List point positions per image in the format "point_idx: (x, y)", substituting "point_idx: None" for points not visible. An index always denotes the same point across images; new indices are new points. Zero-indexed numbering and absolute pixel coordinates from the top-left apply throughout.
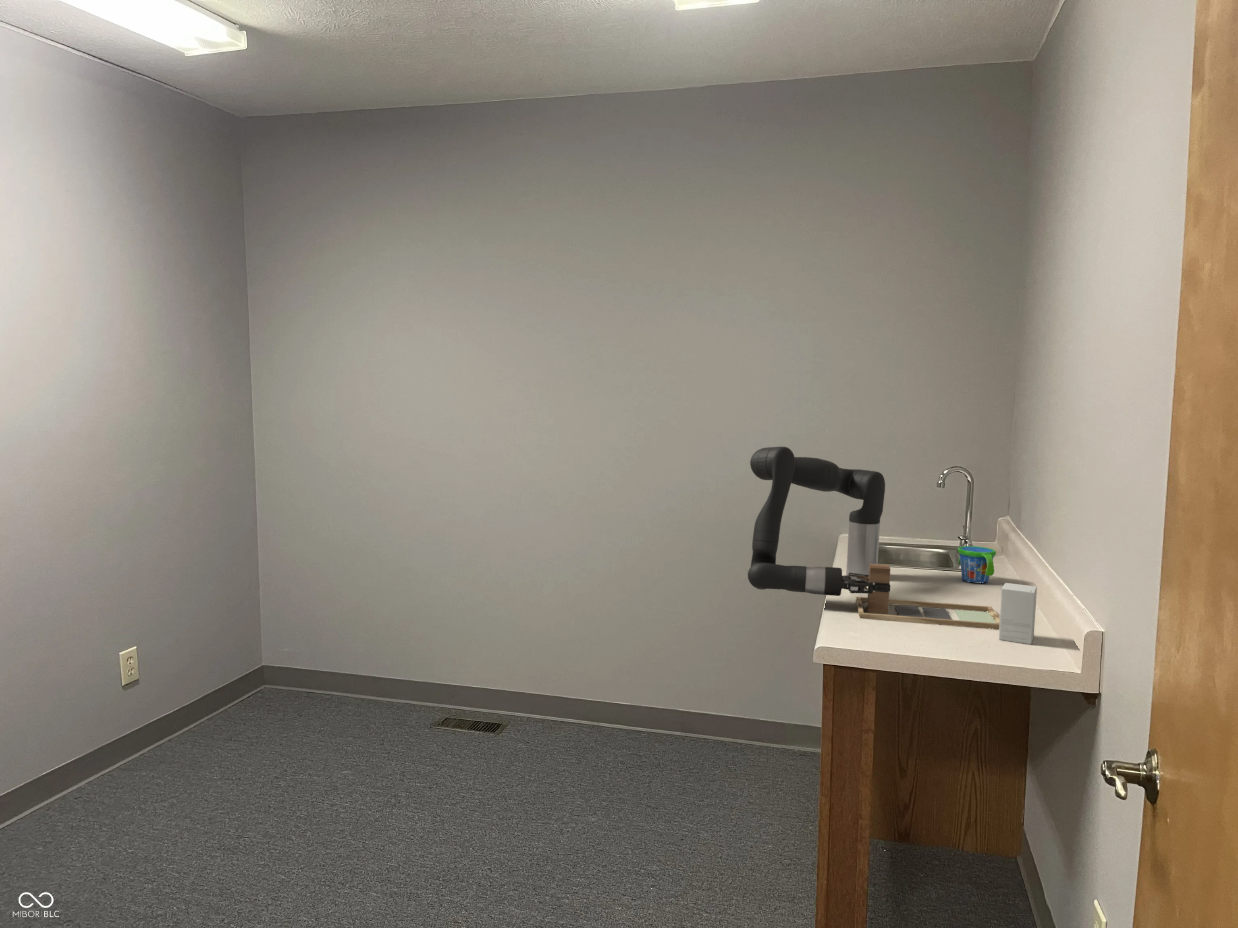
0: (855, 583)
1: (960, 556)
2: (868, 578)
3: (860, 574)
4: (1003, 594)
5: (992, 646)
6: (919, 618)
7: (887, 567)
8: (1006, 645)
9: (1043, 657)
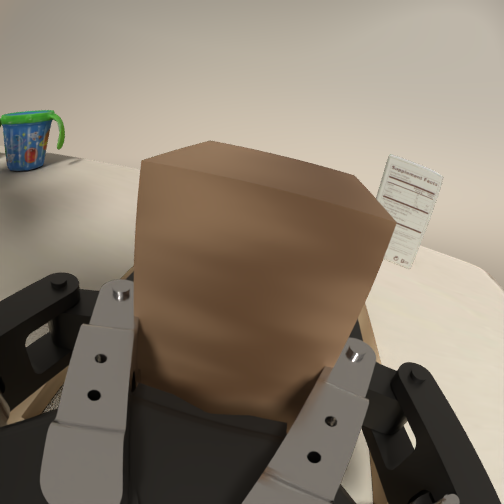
0: (475, 499)
1: (10, 129)
2: (137, 326)
3: (1, 319)
4: (440, 187)
5: (453, 289)
6: (372, 333)
7: (307, 165)
8: (434, 274)
9: (454, 265)
